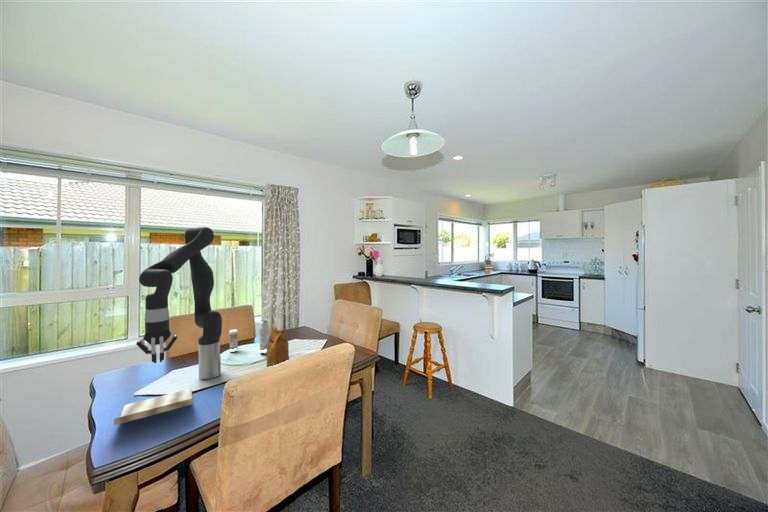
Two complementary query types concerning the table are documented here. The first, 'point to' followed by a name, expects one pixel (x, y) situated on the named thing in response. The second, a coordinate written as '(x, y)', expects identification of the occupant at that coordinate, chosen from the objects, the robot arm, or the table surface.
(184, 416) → the table surface
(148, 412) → the honey oak plank
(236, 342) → the sprinkles bottle
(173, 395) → the grey-washed plank
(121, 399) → the table surface
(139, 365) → the table surface
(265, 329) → the plastic bottle
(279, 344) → the coffee package
